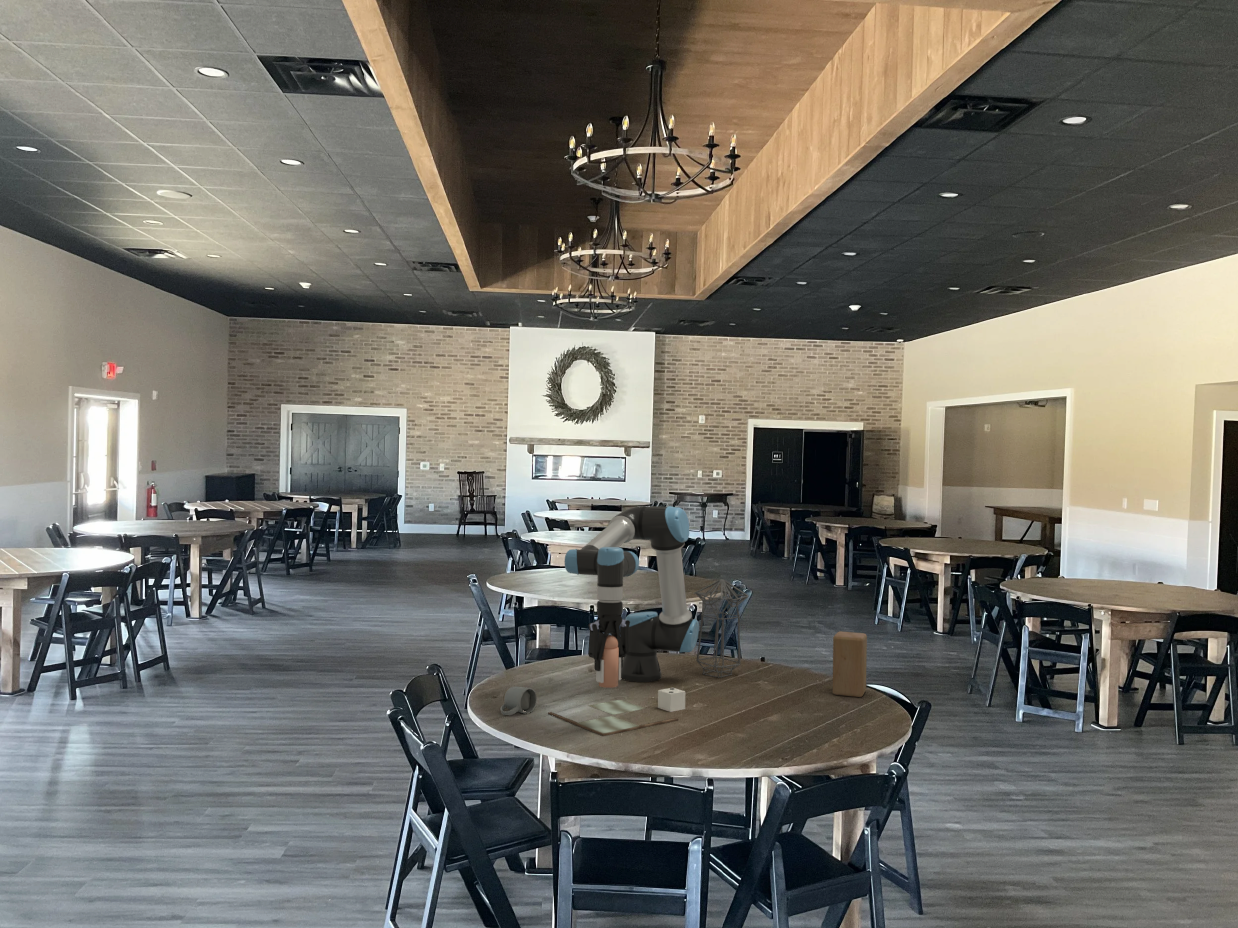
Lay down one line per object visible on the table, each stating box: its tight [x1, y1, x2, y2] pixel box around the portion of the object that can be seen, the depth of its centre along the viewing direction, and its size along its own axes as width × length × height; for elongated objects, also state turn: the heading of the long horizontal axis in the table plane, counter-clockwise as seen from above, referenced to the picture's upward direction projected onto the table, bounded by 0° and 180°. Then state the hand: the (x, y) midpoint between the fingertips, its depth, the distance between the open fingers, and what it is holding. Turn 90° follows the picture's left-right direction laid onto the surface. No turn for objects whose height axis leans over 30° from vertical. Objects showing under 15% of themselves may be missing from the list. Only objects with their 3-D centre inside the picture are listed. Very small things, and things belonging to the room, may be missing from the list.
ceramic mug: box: [500, 686, 538, 716], centre depth 283 cm, size 11×8×8 cm
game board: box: [547, 699, 679, 737], centre depth 279 cm, size 28×28×1 cm
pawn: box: [598, 634, 619, 689], centre depth 269 cm, size 6×6×15 cm
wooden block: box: [832, 630, 868, 698], centre depth 314 cm, size 10×10×20 cm
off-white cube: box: [657, 687, 686, 713], centre depth 288 cm, size 6×6×6 cm
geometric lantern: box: [693, 578, 749, 679], centre depth 339 cm, size 16×16×35 cm
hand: (608, 680), depth 269 cm, fingers closed on pawn, 5 cm apart
